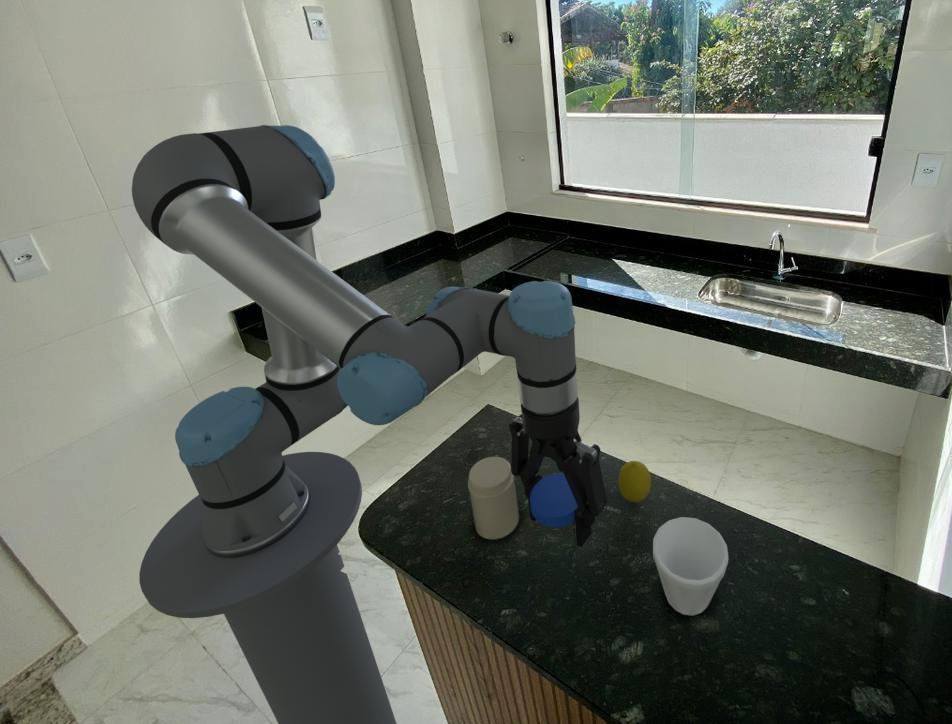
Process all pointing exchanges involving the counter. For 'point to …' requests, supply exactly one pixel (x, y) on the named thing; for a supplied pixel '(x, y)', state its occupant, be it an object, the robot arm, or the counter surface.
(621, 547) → the counter surface
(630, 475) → the lemon
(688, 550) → the cup
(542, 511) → the jar lid
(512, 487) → the jar
